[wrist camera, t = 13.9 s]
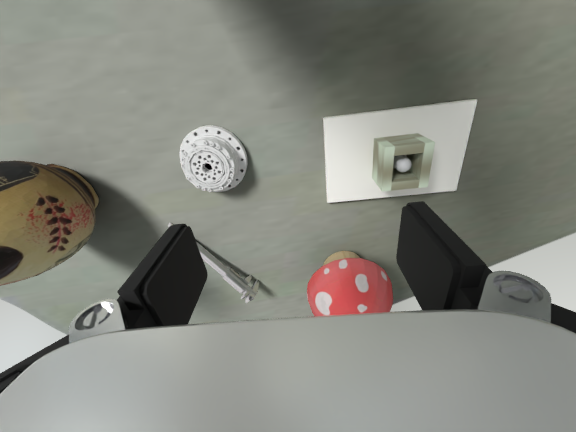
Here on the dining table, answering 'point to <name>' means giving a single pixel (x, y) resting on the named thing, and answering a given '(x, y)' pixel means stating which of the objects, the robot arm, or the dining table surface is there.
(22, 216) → the ceramic jug
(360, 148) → the pin board
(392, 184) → the pale green open box
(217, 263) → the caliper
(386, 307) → the decorative mushroom
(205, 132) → the mechanical component
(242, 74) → the dining table surface
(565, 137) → the dining table surface
